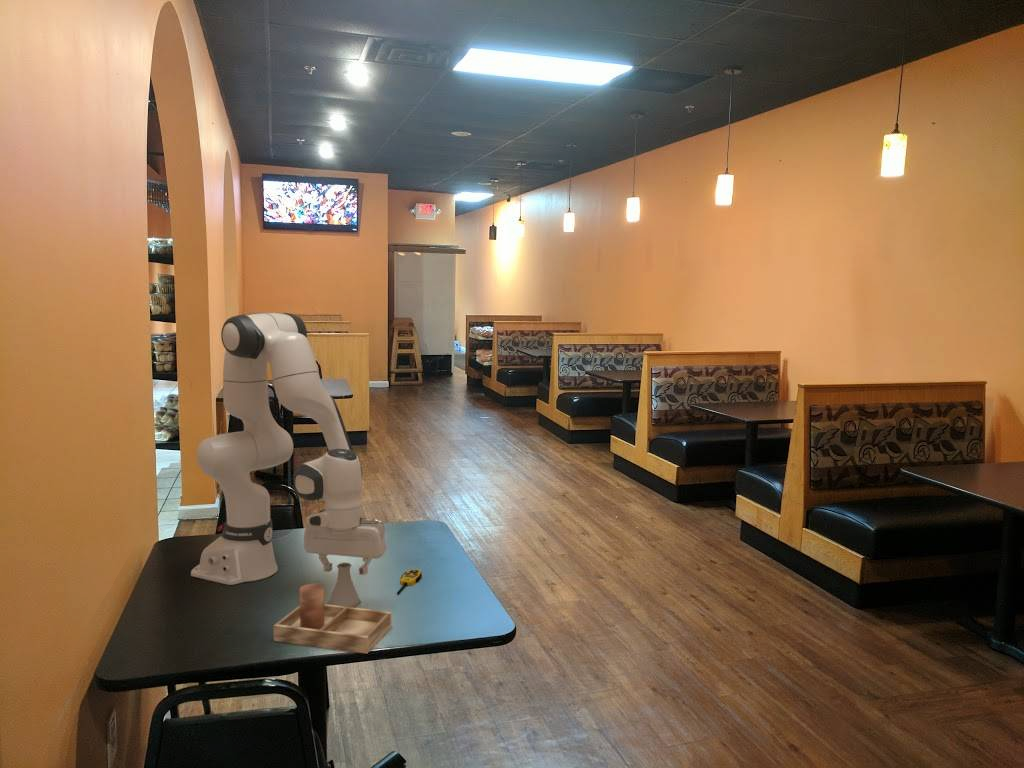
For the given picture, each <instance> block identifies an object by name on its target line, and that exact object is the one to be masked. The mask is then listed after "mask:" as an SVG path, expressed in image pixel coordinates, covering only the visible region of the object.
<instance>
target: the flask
mask: <svg viewBox="0 0 1024 768" xmlns="http://www.w3.org/2000/svg"><path fill="white" fill-rule="evenodd" d="M336 567H337V571H338V572H337V573H338V574H337V578H336V579H337V580H336V583H335V585H334V588H333V592H332V594H331V596H330V599H329V602H328V604H329V605H337V606H345V607H353V608H357V606H358V605H359V604H361V603H362V601H361V599H360V597H359V595H358V593H357V590H356V588H355V585H354V582H353V580H352V575H351V567H352V564H351V563H350V562H342V563H341V562H340V563H338V564H337V565H336Z"/></svg>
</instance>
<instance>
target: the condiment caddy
mask: <svg viewBox="0 0 1024 768" xmlns="http://www.w3.org/2000/svg"><path fill="white" fill-rule="evenodd" d="M324 593H325V587H324V585H323V584H321V583H309V584H304V585H302V586H301V587H299V605H298V606H297V607H296V608H294V609H293V610H292V611H290V612H289V613H288V614H286V615H285V616H284V617H282V618H281V619H280V620H278V621H277V622H276V623H275V624H273V625H272V627H273V641H274V642H279V643H287V644H294V645H301V646H302V645H303V646H307V647H308V646H309V647H317V648H323V649H330V650H337V651H338V650H339V651H343V652H345V651H346V652H351V653H352V652H353V653H359V654H366V655H367V654H368V653H369V652H370V651H371V650H372V649H373V648H374V647H375V646H376V645H377V644H378V642H379V641H380V640H382V638H383V637H384V636H385V635H386V634H387V633H388V631H390V630H391V628H392V627H393V625H392V624H393V620H392V618H393V617H392V614H393V612H392V611H387V610H386V611H384V610H376V609H368V608H360V607H345V606H337V605H329V603H327V604H326V603H325V594H324Z"/></svg>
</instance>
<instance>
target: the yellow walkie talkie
mask: <svg viewBox="0 0 1024 768" xmlns="http://www.w3.org/2000/svg"><path fill="white" fill-rule="evenodd" d="M422 573H423V572H422V569H419V568H411V569H409V570H408V571H405V572H404V573H403V574H402V575H401V577H400V582H399V584H400V586H401V587H400V588H399V590H398V591H397V592H396V594H397V595H399V594H400V593H401V592H402V591H403V589H404V588H405V587H412V586H414V585H416V584H417V583H419V582H420V581H421V579H422V575H423V574H422Z"/></svg>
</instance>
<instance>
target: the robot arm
mask: <svg viewBox="0 0 1024 768" xmlns="http://www.w3.org/2000/svg"><path fill="white" fill-rule="evenodd" d="M220 335H221V336H220V337H221V339H220V340H221V343H222V345H223V347H224V349H225V353H224V360H223V369H222V371H223V372H222V375H223V377H222V378H223V379H222V383H223V384H222V385H223V386H222V387H223V388H222V389H223V390H222V391H223V407H224V409H225V410H226V412H227V413H228V414H230V415H231V416H232V417H234V418H236V419H240V420H241V421H242V424H243V430H242V431H234V432H225V433H218V434H217V435H214V436H210V437H207V438H205V439H203V440H202V441H201V442H200V443H199V445H198V446H197V447H198V448H197V450H196V455H195V456H196V463H197V466H198V468H199V469H200V471H201V472H203V473H204V474H205V475H207V476H208V477H210V478H212V479H213V480H214V481H215V482H216V483H217V484H218V486H219V487H220V488H221V491H222V493H223V496H224V501H225V502H224V503H225V511H226V522H223V524H221V525H219V526H217V528H218V529H217V531H218V532H219V531H222V532H221V534H220V536H219V537H217V539H214V540H213V542H211V543H209V544H208V545H207V546H206V547H205V548H204V549H203V550H202V553H200V554H201V555H200V559H199V560H200V561H199V564H197V565H196V566H194V567H193V568H192V569H191V571H190V576H191V577H194V578H199V579H201V580H202V579H203V580H206V581H211V582H215V583H219V584H224V585H228V586H231V585H237V584H241V583H245V582H253V581H259V580H263V579H266V578H269V577H271V576H272V575H274V574H276V573H277V572H278V570H279V567H278V564H277V561H276V558H275V557H276V556H275V554H274V553H275V552H274V547H273V519H272V518H271V499H270V497H271V496H270V493H269V491H268V489H267V488H266V487H264V486H263V485H261V484H258V483H255V482H253V481H252V480H251V475H250V474H251V472H253V471H259V470H265V469H270V468H274V467H277V466H279V465H282V464H284V463H286V462H288V461H289V460H290V459H291V457H292V455H293V453H294V442H293V438H292V437H291V435H290V433H289V432H288V431H287V430H285V429H284V428H283V427H281V426H280V425H279V424H278V422H276V420H275V419H274V417H273V414H272V412H271V409H270V402H269V401H270V399H269V379H268V377H269V373H268V372H269V371H268V363H269V365H270V372H271V377H272V378H271V379H272V382H273V388H274V391H275V392H274V393H275V395H276V396H275V397H276V398H277V399H278V402H279V404H281V406H283V407H284V408H285V409H286V410H288V411H291V412H293V413H295V414H299V415H302V416H305V417H308V418H310V419H312V420H313V421H315V423H317V425H318V426H319V427H320V430H321V433H322V435H323V438H324V440H325V444H326V447H327V449H328V451H326V453H325V454H324V455H323V456H320V457H318V458H316V459H313V460H310V461H309V460H308V461H306V462H303V463H302V464H301V463H300V464H299V465H298V466H297V468H296V469H295V470H294V474H293V479H292V481H293V483H292V484H293V488H294V490H295V493H296V494H297V495H298V497H300V498H301V499H303V500H304V501H312V502H313V501H319V500H322V501H324V509H320V510H318V511H316V512H313V513H311V514H310V515H308V516H307V517H306V518H305V524H306V525H307V526H306V527H305V529H304V535H303V547H304V550H305V551H306V553H307V554H318V559H319V562H320V563H321V564H322V565H323V568H322V569H323V572H328V573H330V572H331V571H332V570H333V563H332V562H330V560H329V559H328V557H327V556H329V555H330V556H339V557H352V558H353V557H354V558H362V562H363V563H364V564H363V565H361V566H360V567H359V568H358V570H359V571H358V575H360V576H361V575H362V576H367V574H368V573H369V566H370V563H371V562H372V560H373V559H376V560H378V559H380V558H381V557H383V556H384V555H385V553H386V551H387V545H386V544H387V543H386V538H385V525H384V523H383V522H382V521H380V520H379V519H377V518H367V517H363V516H364V515H363V514H364V513H363V511H364V508H363V500H362V497H361V492H362V489H363V488H362V487H363V480H362V477H363V468H362V464H361V463H360V459H359V457H358V454H357V453H356V452H355V451H354V449H353V446H352V444H351V440H350V437H349V434H348V432H347V428H346V426H345V423H344V420H343V418H342V414H341V412H340V409H339V407H338V405H337V403H336V401H335V399H334V397H333V396H331V395H330V394H329V393H328V392H327V390H326V389H325V386H324V385H323V382H322V379H321V377H320V372H319V368H318V364H317V361H316V357H315V355H314V354H315V353H314V352H313V349H312V347H311V344H310V342H309V339H308V338H307V336H308V332H307V326H306V324H305V322H304V320H303V319H302V318H301V317H300V316H298V315H296V314H293V313H288V312H283V313H280V312H261V313H252V314H238V315H234V316H231V317H229V318H227V319H226V320H225V321H224V323H223V325H222V328H221V332H220Z"/></svg>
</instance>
